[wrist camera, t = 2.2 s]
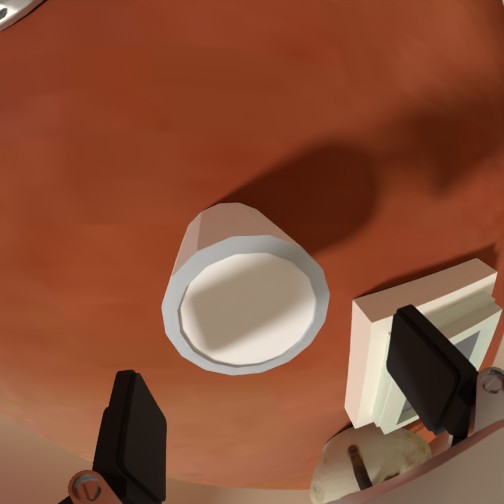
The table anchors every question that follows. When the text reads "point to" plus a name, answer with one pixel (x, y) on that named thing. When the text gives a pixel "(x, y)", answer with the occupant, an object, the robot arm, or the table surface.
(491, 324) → the stand
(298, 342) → the white short cylinder
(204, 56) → the table surface
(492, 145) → the table surface
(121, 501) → the robot arm
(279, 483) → the table surface
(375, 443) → the sugar bowl
